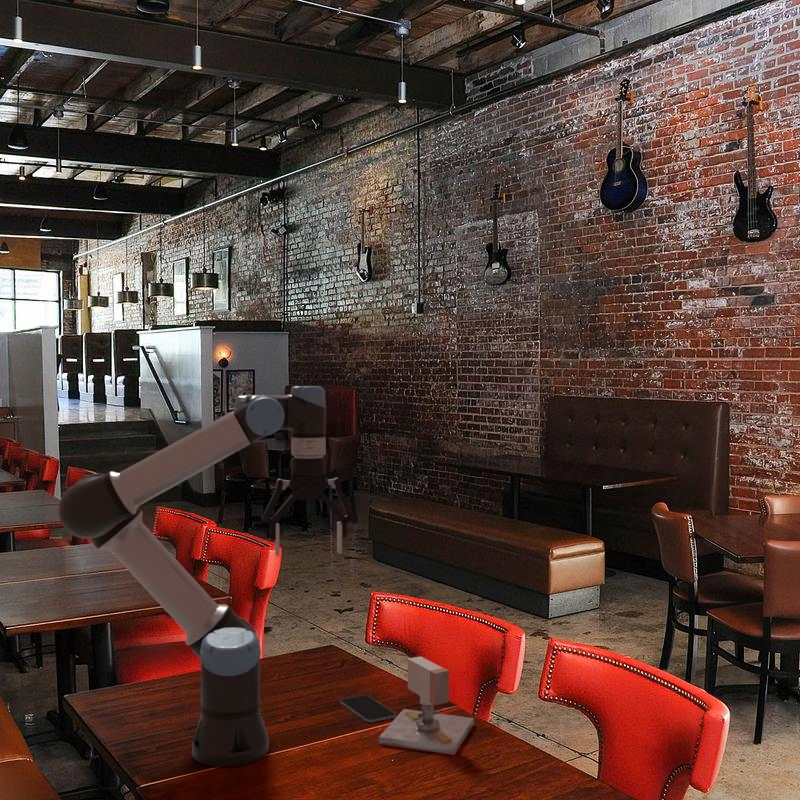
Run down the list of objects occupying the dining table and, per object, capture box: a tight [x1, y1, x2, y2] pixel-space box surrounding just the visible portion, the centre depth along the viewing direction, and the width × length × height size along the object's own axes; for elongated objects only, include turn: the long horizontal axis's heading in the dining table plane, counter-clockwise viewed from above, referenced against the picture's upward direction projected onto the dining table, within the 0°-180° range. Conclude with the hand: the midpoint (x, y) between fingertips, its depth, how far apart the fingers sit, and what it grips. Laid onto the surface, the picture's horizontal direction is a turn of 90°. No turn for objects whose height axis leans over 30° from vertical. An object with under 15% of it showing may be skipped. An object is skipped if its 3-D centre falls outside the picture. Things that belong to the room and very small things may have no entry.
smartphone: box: [339, 694, 397, 724], centre depth 200 cm, size 7×1×15 cm
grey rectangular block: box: [407, 655, 450, 706], centre depth 185 cm, size 11×3×8 cm, turn 31°
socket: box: [378, 704, 475, 756], centre depth 186 cm, size 16×16×6 cm
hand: (308, 553), depth 192 cm, fingers open, 13 cm apart
